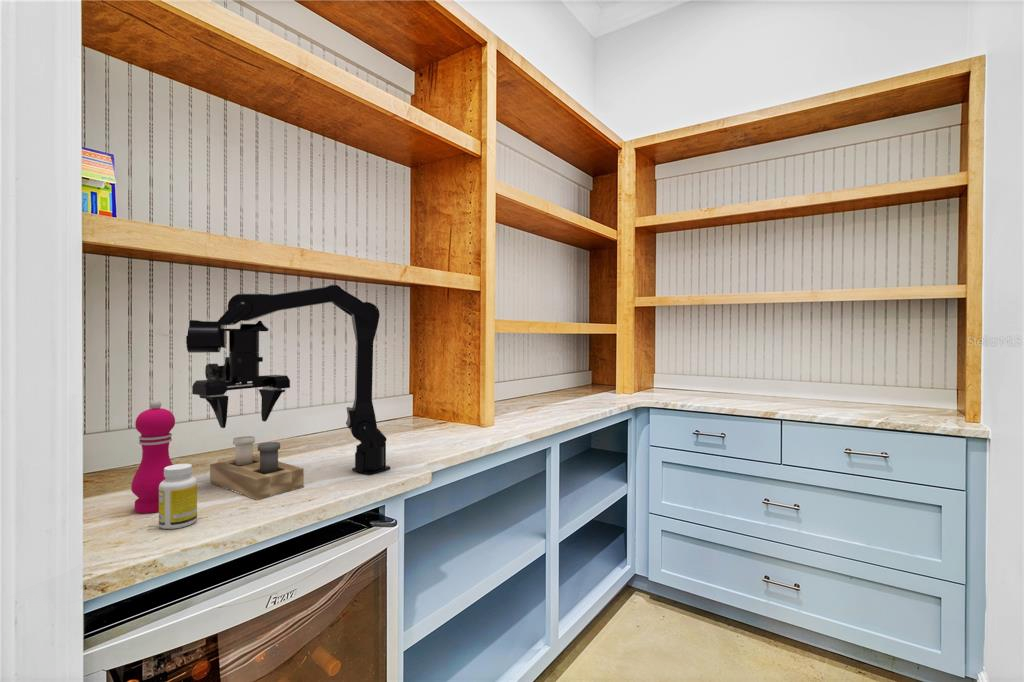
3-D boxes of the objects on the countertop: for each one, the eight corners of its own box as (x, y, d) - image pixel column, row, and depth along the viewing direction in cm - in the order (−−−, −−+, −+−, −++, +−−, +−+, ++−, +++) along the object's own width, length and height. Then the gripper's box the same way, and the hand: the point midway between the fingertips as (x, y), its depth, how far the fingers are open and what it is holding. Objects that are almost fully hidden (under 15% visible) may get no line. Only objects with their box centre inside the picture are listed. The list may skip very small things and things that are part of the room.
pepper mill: (183, 507, 92) (182, 400, 92) (134, 517, 87) (134, 404, 87) (174, 498, 97) (174, 396, 97) (128, 507, 92) (128, 399, 92)
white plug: (248, 461, 112) (248, 435, 112) (258, 464, 110) (258, 437, 109) (229, 465, 108) (229, 438, 108) (239, 468, 106) (239, 441, 106)
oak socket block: (255, 472, 116) (255, 455, 116) (303, 487, 105) (303, 468, 105) (210, 482, 108) (210, 464, 107) (256, 500, 97) (256, 479, 97)
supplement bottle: (204, 518, 87) (204, 462, 87) (182, 530, 82) (182, 471, 82) (174, 517, 87) (174, 462, 87) (150, 529, 82) (150, 470, 82)
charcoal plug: (273, 468, 106) (273, 441, 106) (284, 471, 104) (284, 443, 104) (253, 472, 103) (253, 444, 103) (264, 476, 100) (264, 447, 100)
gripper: (262, 350, 119) (262, 415, 120) (177, 352, 103) (178, 427, 104) (291, 351, 114) (291, 419, 114) (207, 354, 98) (207, 433, 98)
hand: (244, 424), depth 108 cm, fingers open, 9 cm apart
